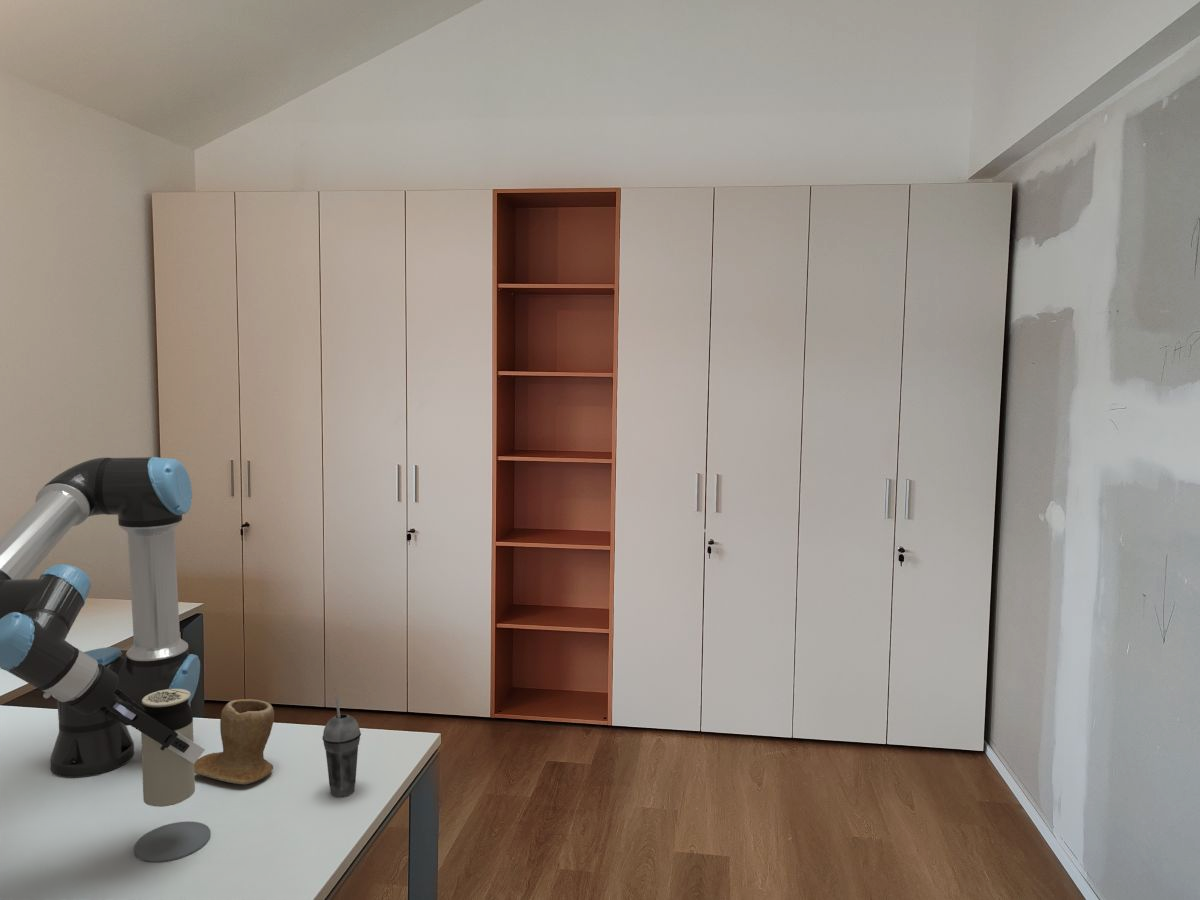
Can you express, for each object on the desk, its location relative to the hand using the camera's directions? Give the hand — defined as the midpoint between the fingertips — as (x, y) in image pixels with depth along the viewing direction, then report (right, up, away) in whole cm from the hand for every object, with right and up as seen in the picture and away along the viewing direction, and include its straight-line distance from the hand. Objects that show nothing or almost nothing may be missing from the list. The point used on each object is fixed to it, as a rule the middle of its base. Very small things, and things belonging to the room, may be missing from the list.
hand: (188, 748), depth 147 cm
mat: (-3, -16, 0) cm, 17 cm away
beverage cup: (+22, -15, +18) cm, 32 cm away
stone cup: (-2, -14, +25) cm, 29 cm away
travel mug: (-2, -8, -2) cm, 9 cm away
